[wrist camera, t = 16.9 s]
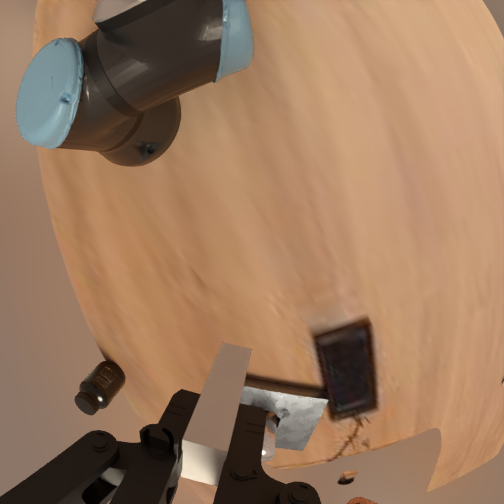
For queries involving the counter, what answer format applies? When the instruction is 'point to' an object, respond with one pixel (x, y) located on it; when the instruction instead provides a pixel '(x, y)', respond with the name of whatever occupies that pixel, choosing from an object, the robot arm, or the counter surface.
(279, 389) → the plate
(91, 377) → the supplement bottle
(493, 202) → the counter surface
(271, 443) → the rounded peg
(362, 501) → the crank
